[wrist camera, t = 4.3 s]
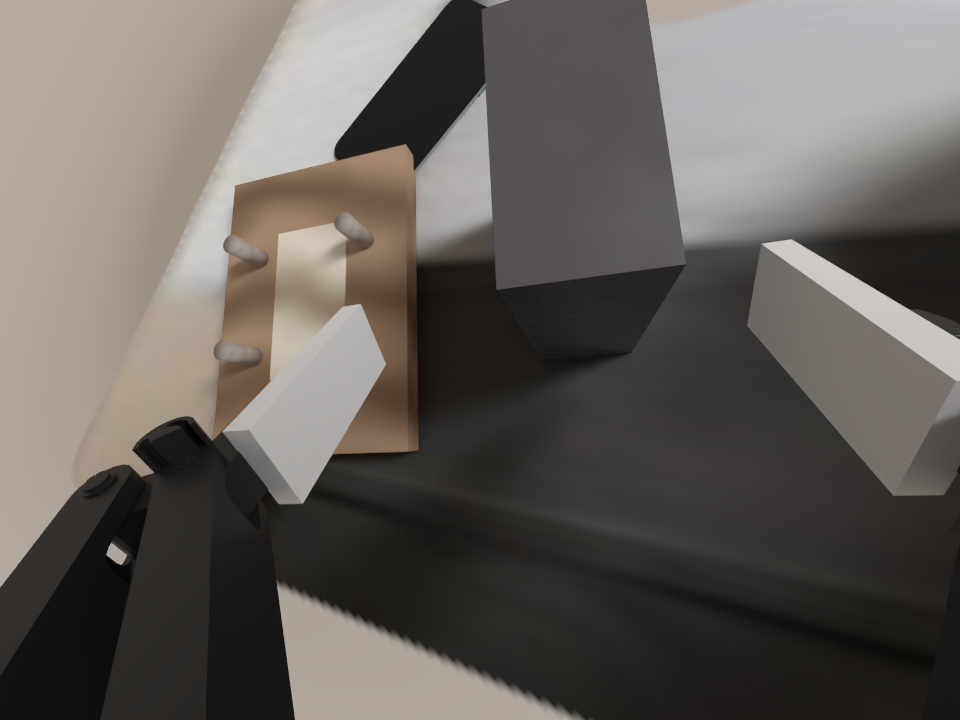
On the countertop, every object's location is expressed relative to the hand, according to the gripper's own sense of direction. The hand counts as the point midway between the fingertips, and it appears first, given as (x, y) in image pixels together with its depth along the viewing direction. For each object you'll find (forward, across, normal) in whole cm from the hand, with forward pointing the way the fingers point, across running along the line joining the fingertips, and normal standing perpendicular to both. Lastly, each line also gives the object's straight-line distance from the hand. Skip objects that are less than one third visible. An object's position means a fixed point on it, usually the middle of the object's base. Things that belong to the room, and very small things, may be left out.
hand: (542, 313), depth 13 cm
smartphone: (+21, -8, +8) cm, 24 cm away
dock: (+10, -16, -3) cm, 19 cm away
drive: (+10, +2, -3) cm, 11 cm away
